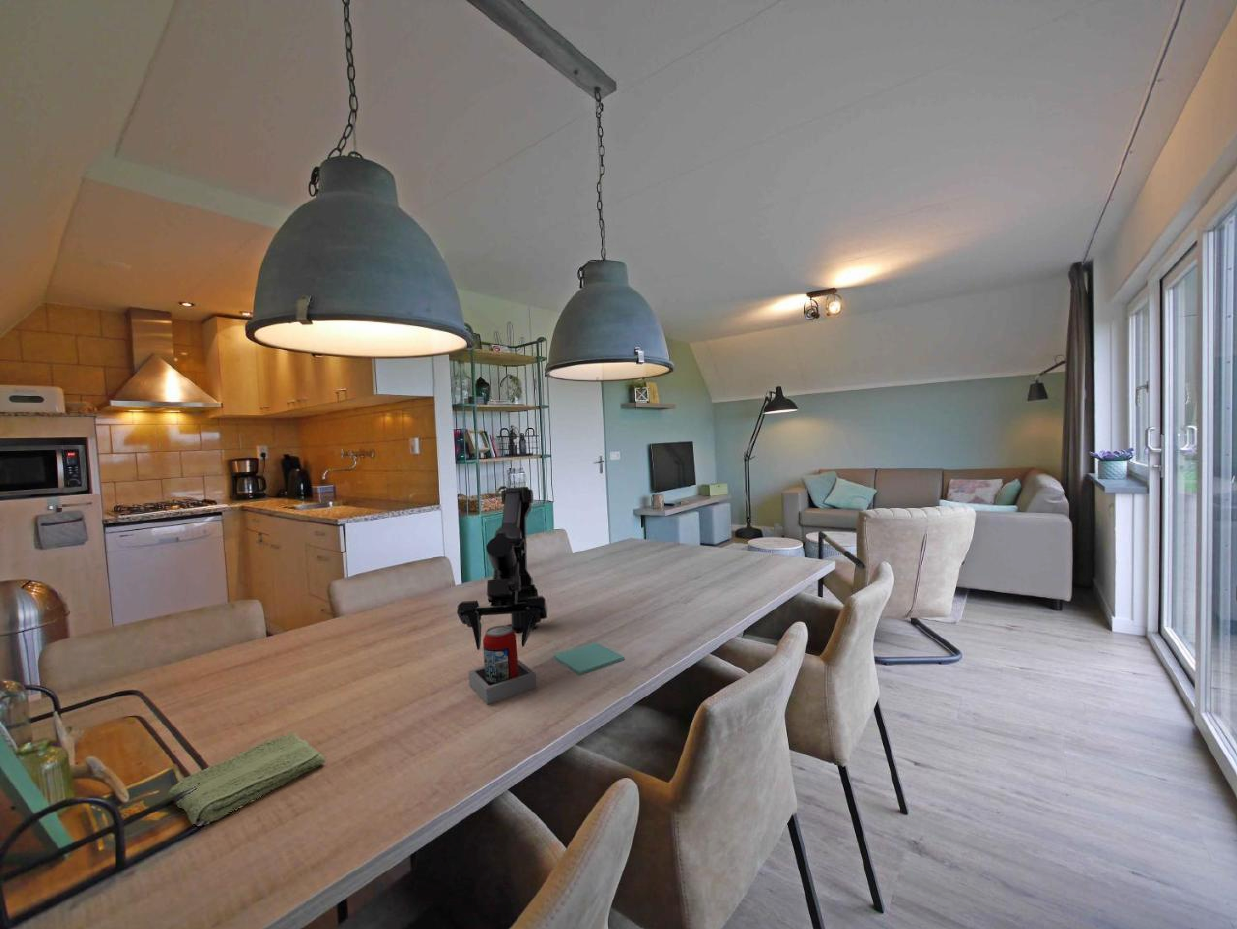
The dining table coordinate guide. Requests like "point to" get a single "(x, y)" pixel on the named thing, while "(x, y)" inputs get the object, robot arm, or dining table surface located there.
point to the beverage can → (500, 654)
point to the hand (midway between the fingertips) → (500, 647)
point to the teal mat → (588, 657)
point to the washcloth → (245, 777)
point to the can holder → (502, 684)
